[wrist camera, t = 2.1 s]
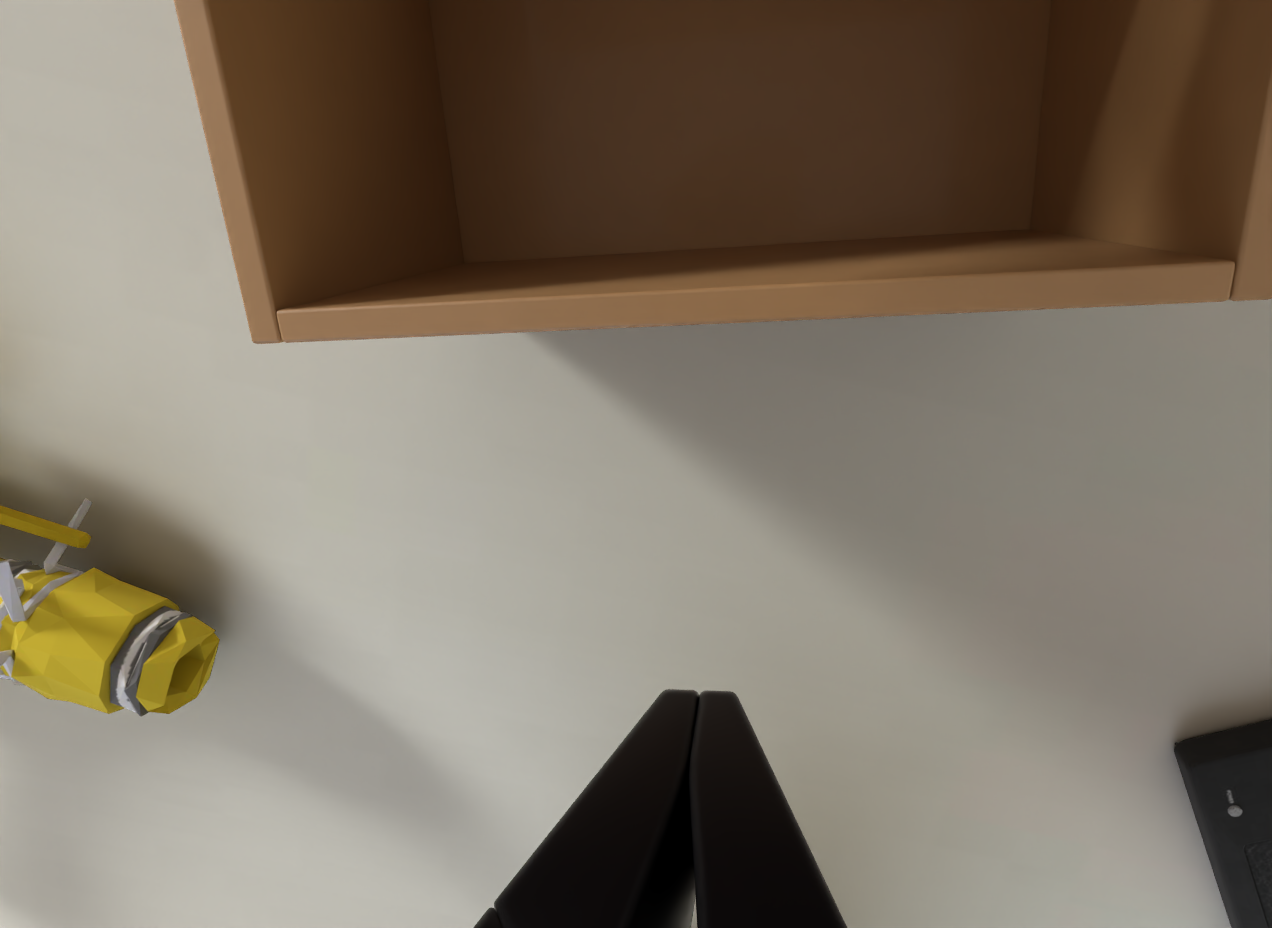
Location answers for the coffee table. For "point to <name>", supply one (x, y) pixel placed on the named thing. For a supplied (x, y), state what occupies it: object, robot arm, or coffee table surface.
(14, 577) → the sprinkler
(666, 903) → the robot arm
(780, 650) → the coffee table surface
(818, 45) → the carton
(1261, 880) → the handheld gaming console
